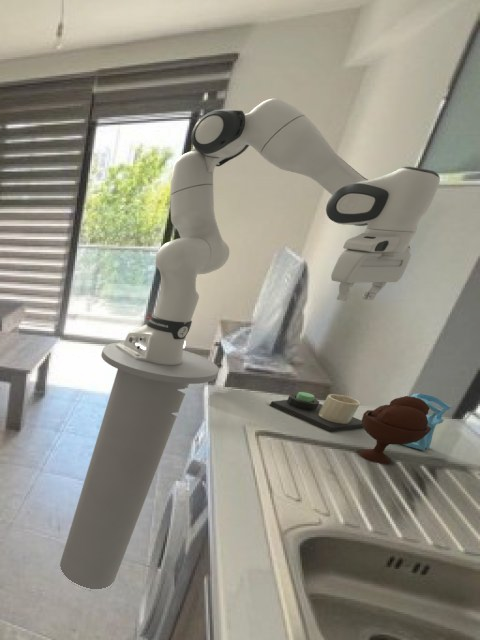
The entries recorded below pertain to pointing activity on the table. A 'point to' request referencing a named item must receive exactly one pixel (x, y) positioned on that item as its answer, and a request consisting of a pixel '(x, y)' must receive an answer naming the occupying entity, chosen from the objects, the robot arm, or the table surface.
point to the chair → (430, 420)
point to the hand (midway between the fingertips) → (354, 299)
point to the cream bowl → (339, 408)
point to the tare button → (305, 396)
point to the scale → (312, 413)
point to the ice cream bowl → (395, 425)
